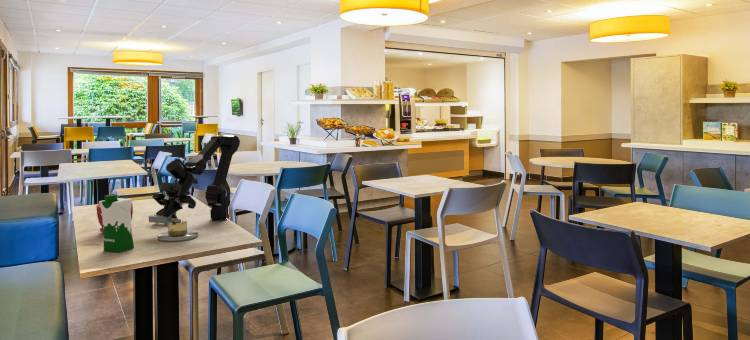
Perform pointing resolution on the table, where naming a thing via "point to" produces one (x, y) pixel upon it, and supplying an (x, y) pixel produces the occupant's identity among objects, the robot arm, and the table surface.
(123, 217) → the milk carton
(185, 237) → the spindle flange
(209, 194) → the robot arm
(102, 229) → the plant pot
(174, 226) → the lever valve handle
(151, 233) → the table surface
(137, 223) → the table surface
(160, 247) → the table surface
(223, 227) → the table surface
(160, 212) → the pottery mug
